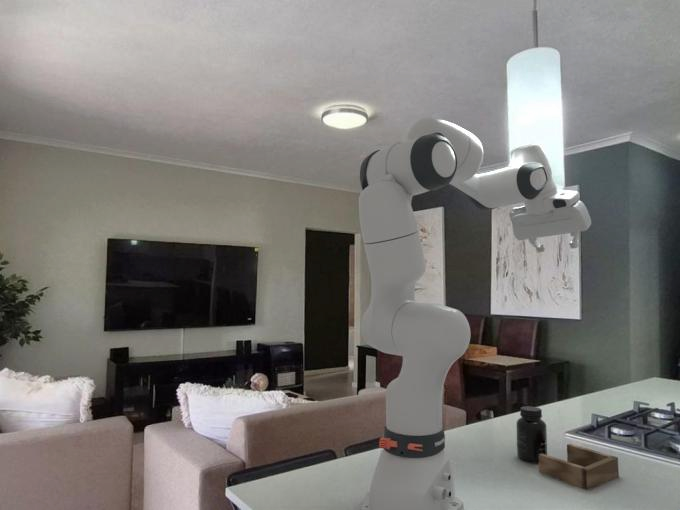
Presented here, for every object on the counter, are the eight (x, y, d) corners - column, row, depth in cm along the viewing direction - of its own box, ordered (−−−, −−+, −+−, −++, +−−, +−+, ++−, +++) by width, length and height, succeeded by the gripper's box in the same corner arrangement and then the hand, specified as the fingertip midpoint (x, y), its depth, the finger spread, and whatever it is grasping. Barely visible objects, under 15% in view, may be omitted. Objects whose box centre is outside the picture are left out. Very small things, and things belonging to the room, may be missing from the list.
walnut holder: (539, 472, 110) (538, 454, 110) (570, 460, 117) (569, 443, 117) (587, 490, 101) (587, 470, 101) (618, 475, 108) (617, 457, 108)
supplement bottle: (550, 465, 114) (548, 412, 115) (519, 463, 116) (518, 411, 116) (544, 454, 121) (542, 405, 122) (515, 453, 122) (513, 404, 123)
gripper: (502, 213, 136) (517, 258, 139) (575, 198, 121) (591, 249, 123) (512, 205, 140) (527, 249, 143) (585, 190, 125) (600, 240, 127)
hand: (557, 249), depth 133 cm, fingers open, 8 cm apart
